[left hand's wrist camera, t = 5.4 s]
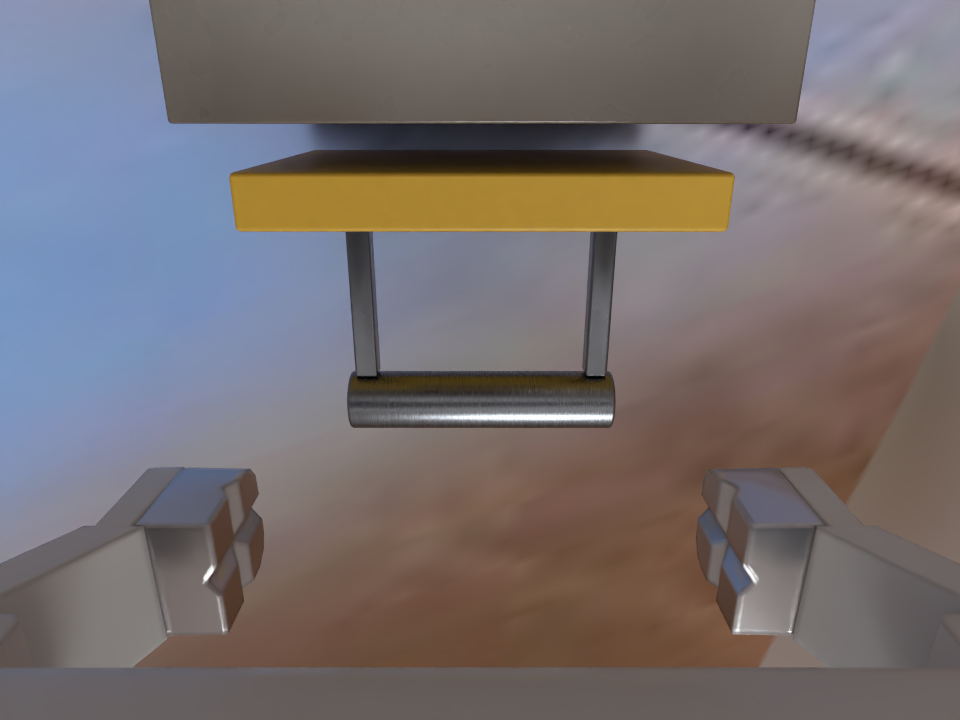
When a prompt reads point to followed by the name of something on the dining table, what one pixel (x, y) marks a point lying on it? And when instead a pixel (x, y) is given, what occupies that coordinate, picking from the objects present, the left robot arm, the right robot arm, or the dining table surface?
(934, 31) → the dining table surface
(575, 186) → the drawer
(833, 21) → the dining table surface
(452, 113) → the grey zigzag patterned box
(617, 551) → the dining table surface
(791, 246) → the dining table surface
